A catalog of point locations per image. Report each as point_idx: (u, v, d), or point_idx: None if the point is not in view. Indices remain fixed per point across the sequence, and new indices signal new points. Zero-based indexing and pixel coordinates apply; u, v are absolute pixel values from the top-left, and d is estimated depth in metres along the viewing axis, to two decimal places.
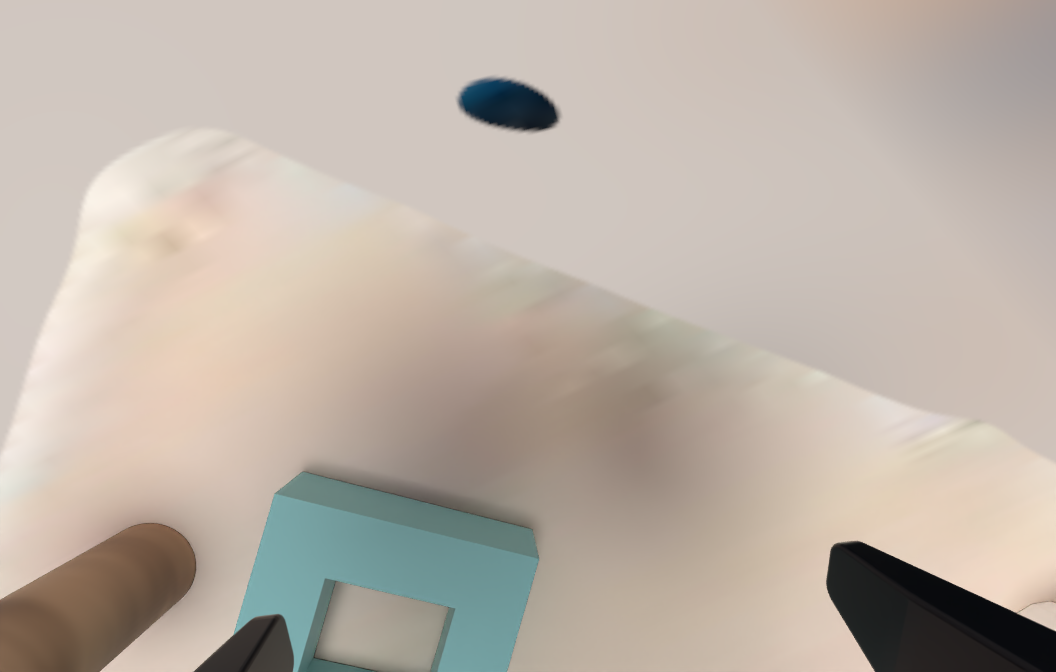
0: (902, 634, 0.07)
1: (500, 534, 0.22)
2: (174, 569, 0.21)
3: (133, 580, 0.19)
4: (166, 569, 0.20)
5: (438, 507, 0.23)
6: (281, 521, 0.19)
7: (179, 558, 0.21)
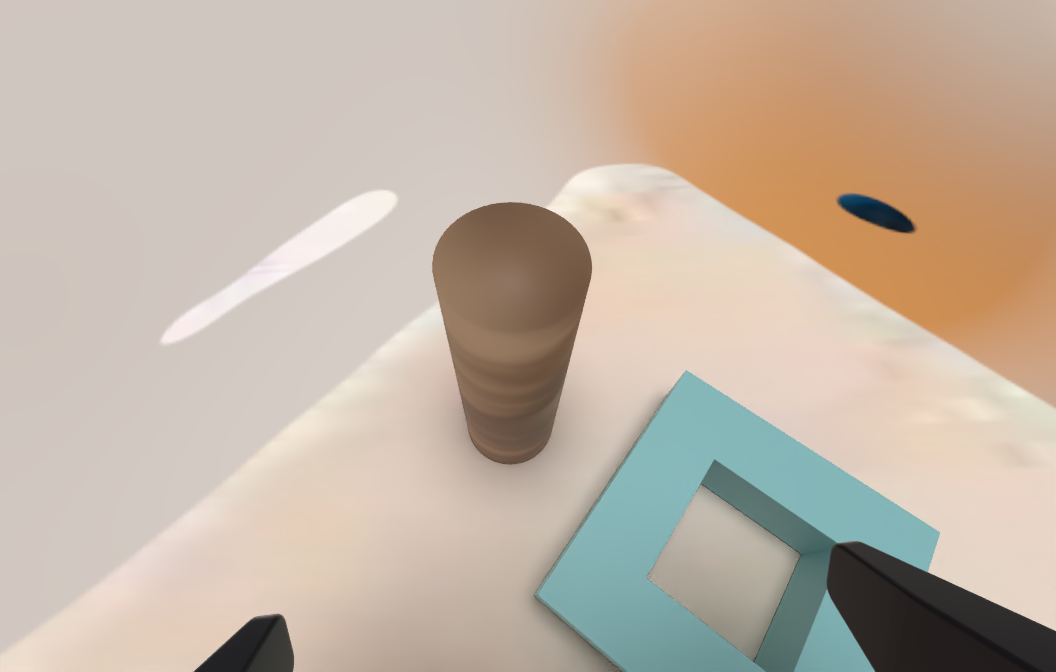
0: (902, 634, 0.07)
1: None
2: None
3: None
4: None
5: None
6: (686, 394, 0.21)
7: None
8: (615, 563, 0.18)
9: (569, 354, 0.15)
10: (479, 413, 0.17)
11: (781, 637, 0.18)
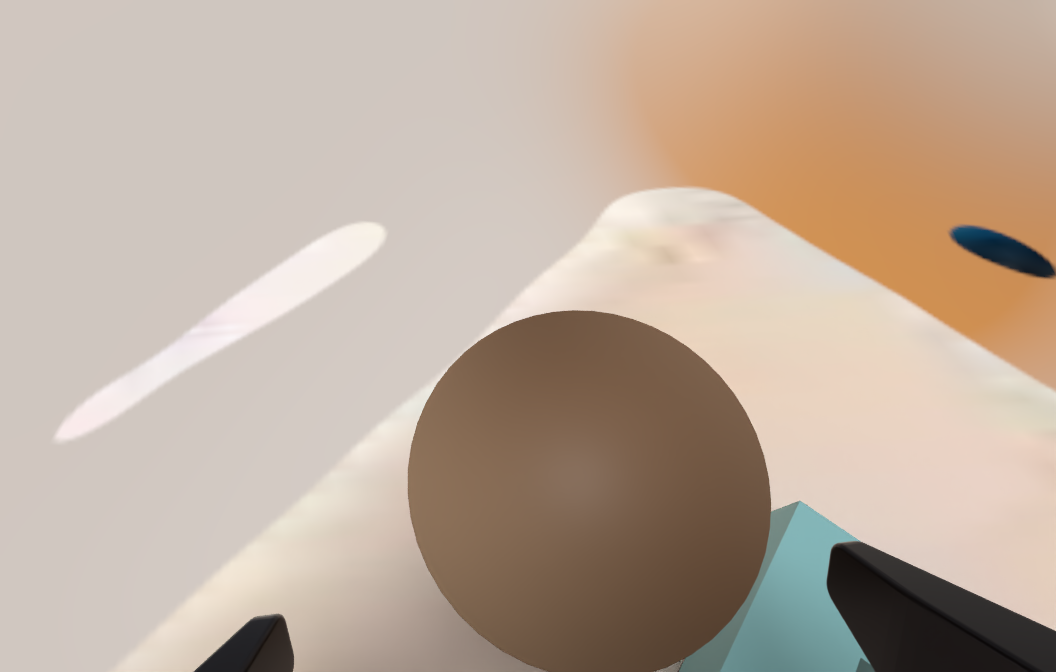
0: (902, 634, 0.07)
1: None
2: None
3: None
4: None
5: None
6: (804, 541, 0.14)
7: None
8: None
9: None
10: None
11: None
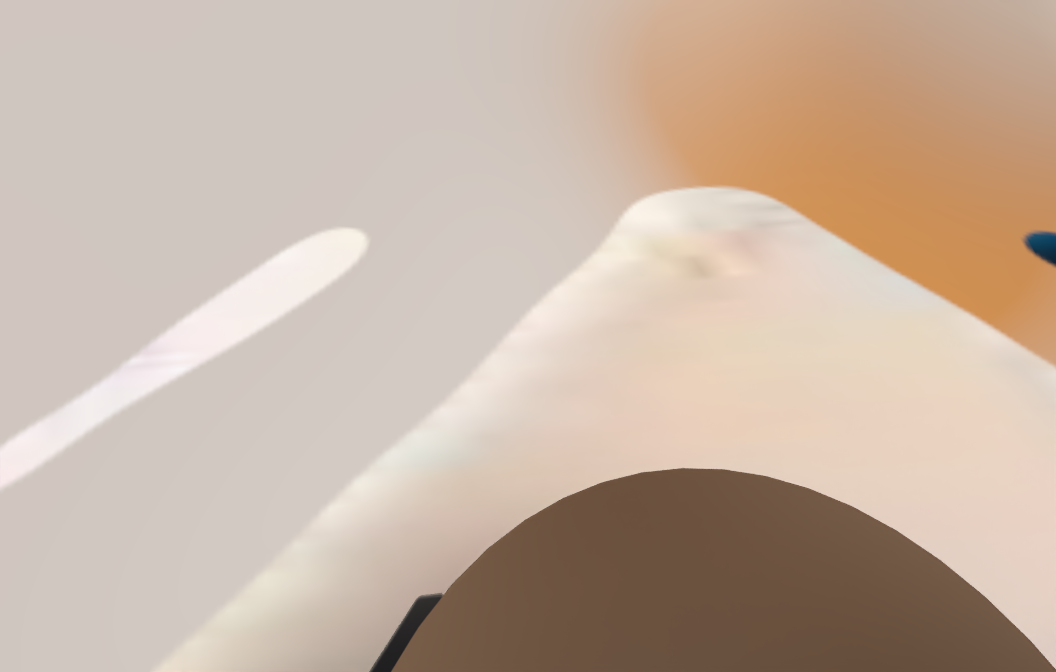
0: None
1: None
2: None
3: None
4: None
5: None
6: None
7: None
8: None
9: None
10: None
11: None
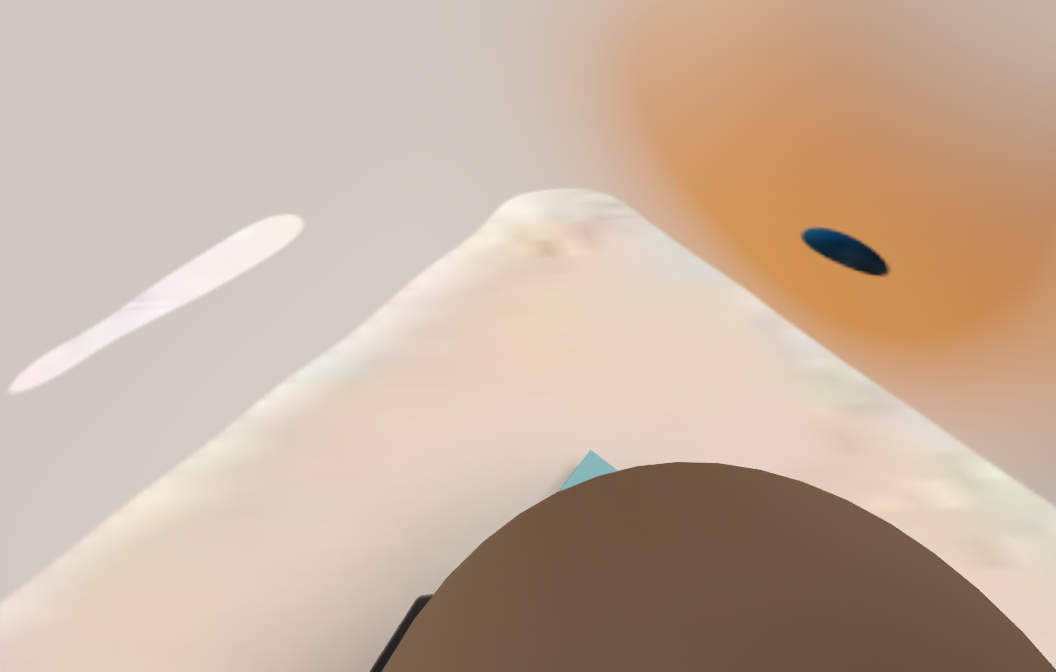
0: None
1: None
2: None
3: None
4: None
5: None
6: (586, 480, 0.18)
7: None
8: None
9: None
10: None
11: None
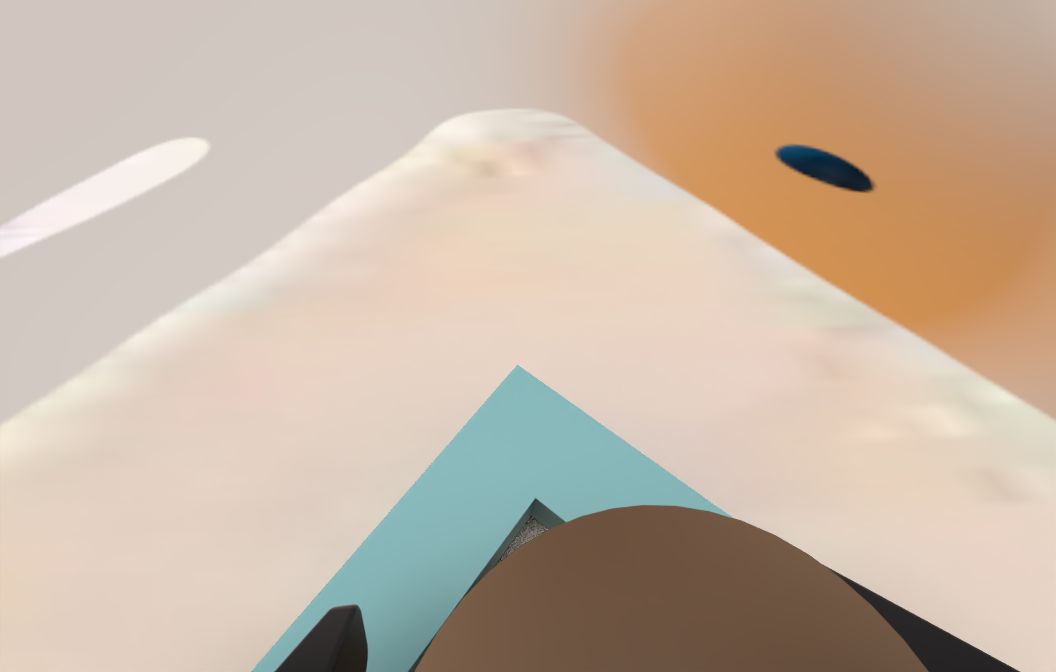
0: None
1: None
2: None
3: None
4: None
5: None
6: (511, 399, 0.14)
7: None
8: None
9: None
10: None
11: None
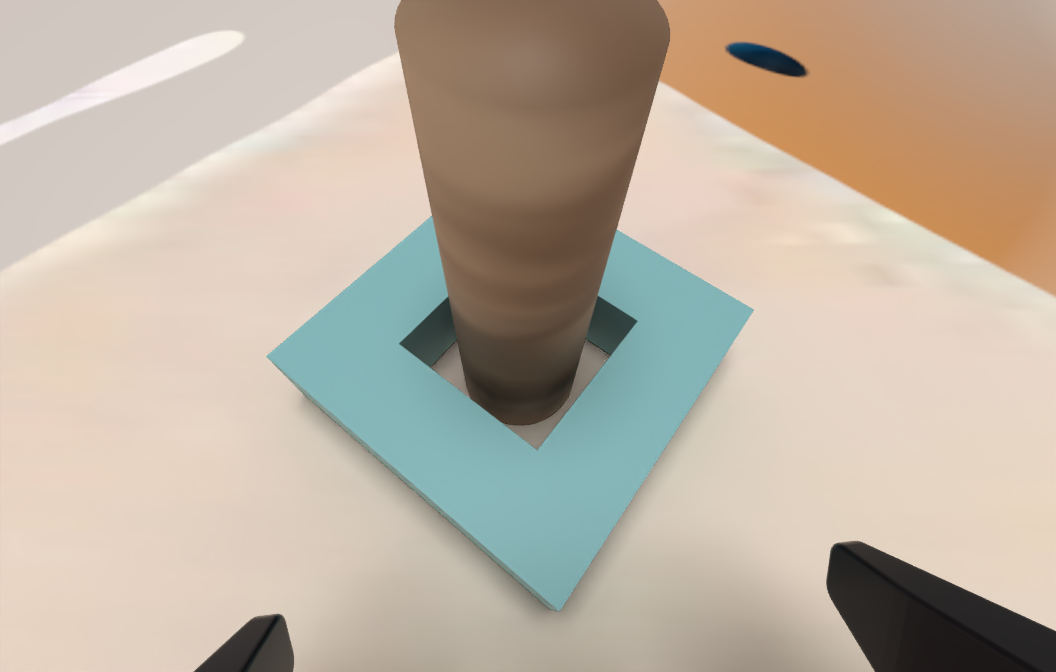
0: (902, 634, 0.07)
1: None
2: None
3: None
4: None
5: None
6: None
7: None
8: (366, 329, 0.15)
9: (615, 223, 0.10)
10: (478, 336, 0.12)
11: None
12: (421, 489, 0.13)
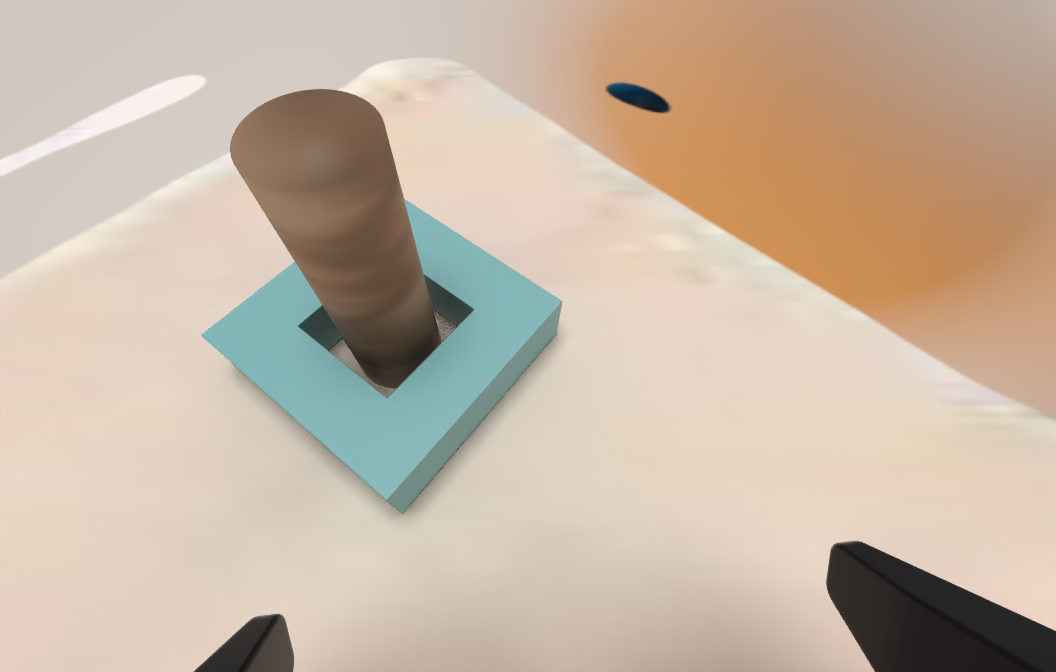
0: (902, 634, 0.07)
1: None
2: (437, 341, 0.23)
3: (431, 306, 0.21)
4: (436, 333, 0.23)
5: None
6: None
7: (439, 341, 0.23)
8: (274, 316, 0.21)
9: (395, 244, 0.15)
10: (334, 317, 0.18)
11: None
12: (302, 424, 0.19)
